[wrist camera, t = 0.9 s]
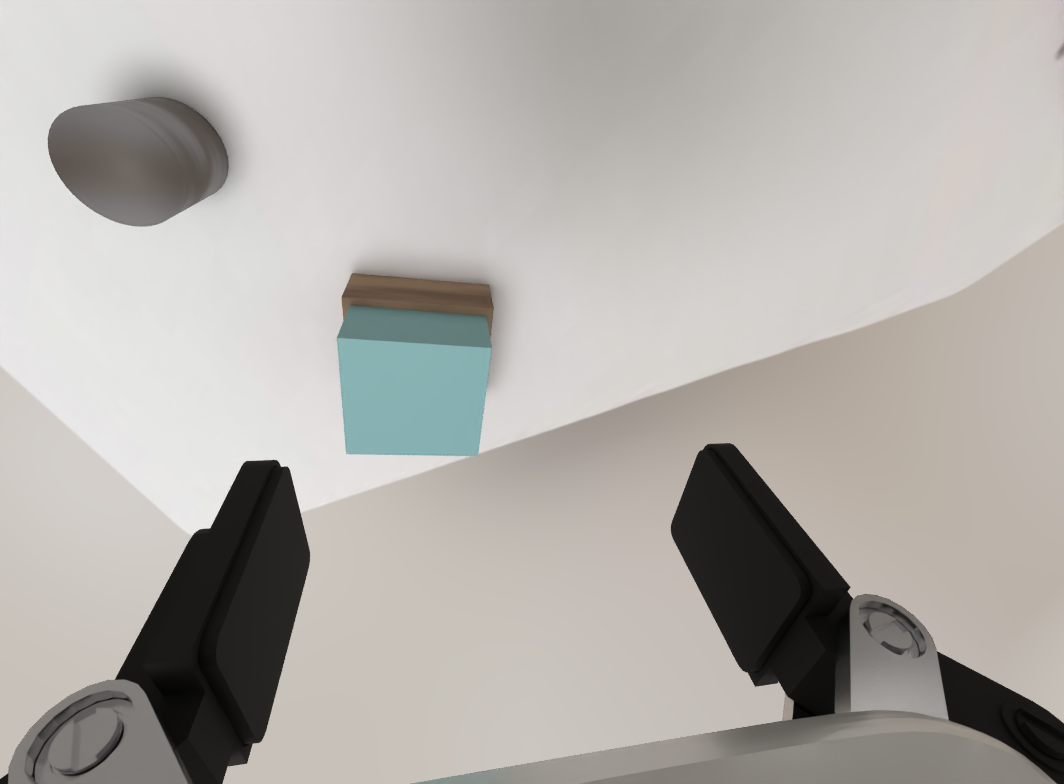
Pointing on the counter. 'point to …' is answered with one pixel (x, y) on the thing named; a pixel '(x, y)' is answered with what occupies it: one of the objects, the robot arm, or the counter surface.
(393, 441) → the teal top block
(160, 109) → the charcoal cylinder
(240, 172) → the counter surface
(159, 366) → the counter surface
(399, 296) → the walnut base block
